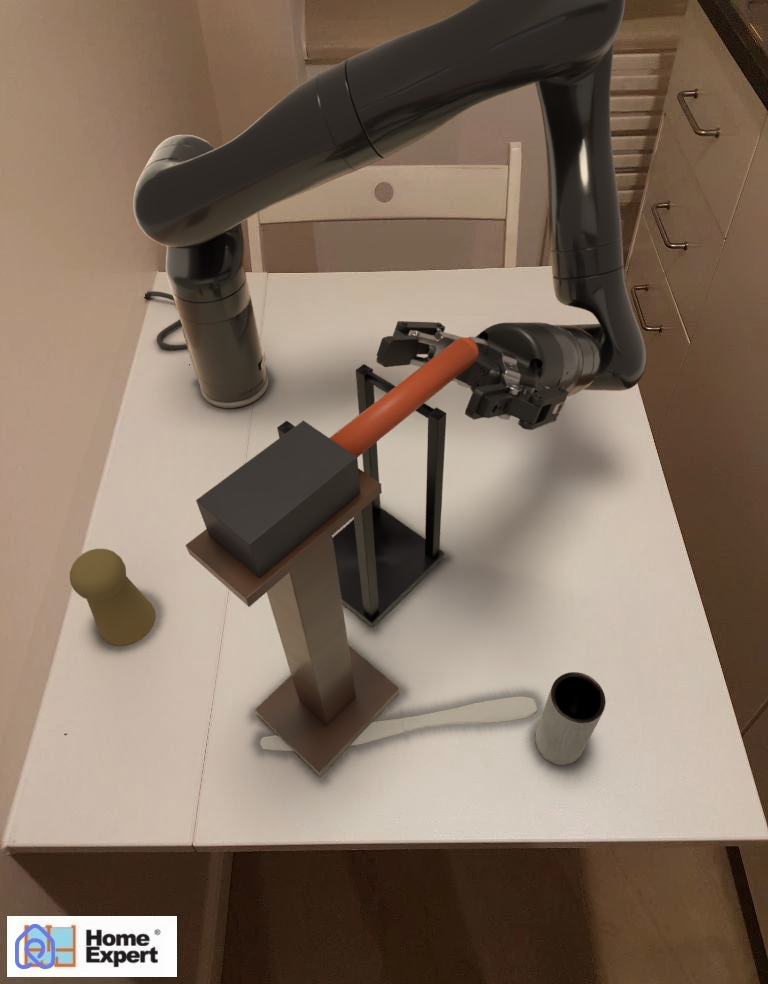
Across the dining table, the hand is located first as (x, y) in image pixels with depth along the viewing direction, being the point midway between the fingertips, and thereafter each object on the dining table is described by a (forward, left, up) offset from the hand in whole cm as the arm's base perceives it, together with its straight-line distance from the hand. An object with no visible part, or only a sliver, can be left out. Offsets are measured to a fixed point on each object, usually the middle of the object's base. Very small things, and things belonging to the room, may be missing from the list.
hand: (426, 377), depth 52 cm
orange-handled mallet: (0, -7, -2) cm, 7 cm away
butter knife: (+7, -11, -34) cm, 36 cm away
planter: (+19, -2, -33) cm, 39 cm away
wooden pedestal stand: (0, -14, -33) cm, 36 cm away
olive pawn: (-23, -22, -33) cm, 46 cm away
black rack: (-8, +1, -33) cm, 34 cm away
